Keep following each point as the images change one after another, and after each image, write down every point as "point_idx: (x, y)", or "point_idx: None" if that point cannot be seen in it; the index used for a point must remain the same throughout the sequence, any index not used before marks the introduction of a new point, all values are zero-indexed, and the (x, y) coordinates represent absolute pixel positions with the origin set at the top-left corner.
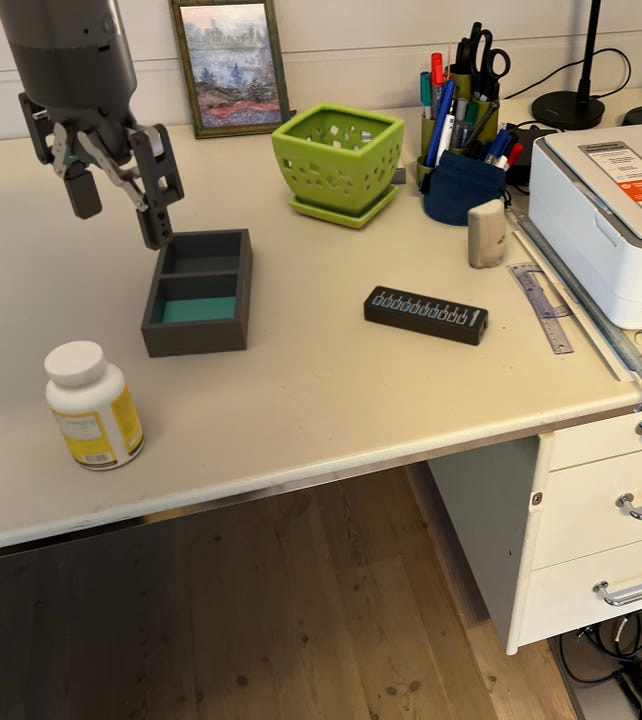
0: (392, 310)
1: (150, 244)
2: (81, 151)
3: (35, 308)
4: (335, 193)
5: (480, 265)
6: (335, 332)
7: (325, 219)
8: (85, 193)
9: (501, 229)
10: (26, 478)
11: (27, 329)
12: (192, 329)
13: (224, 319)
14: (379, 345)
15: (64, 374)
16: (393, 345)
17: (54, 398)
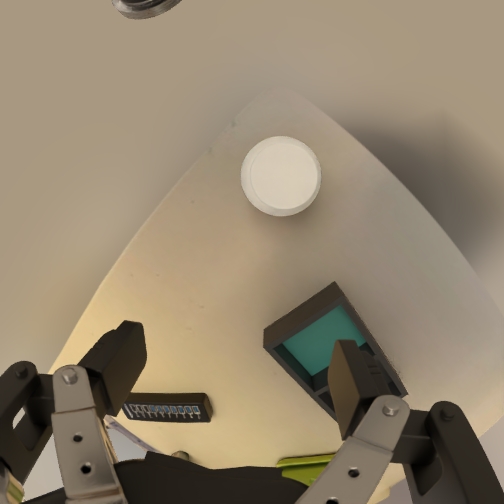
0: (178, 404)
1: (120, 325)
2: (249, 500)
3: (456, 278)
4: (298, 478)
5: (178, 453)
6: (213, 374)
7: (311, 457)
8: (341, 390)
9: None
10: (311, 118)
11: (446, 255)
12: (301, 319)
13: (278, 342)
14: (174, 374)
15: (266, 147)
16: (166, 377)
17: (284, 139)
